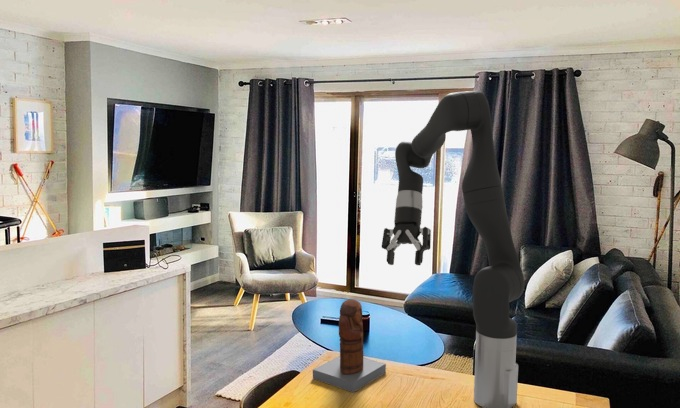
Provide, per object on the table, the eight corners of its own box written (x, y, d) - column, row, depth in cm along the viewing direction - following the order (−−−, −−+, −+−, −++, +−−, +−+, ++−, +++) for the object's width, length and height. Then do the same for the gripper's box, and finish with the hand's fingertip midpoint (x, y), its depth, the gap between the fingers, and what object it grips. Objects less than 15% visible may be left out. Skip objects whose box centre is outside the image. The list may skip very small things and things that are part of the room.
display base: (385, 372, 149) (385, 363, 148) (353, 392, 137) (353, 382, 137) (346, 360, 157) (346, 352, 156) (312, 378, 145) (312, 369, 144)
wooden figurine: (362, 376, 140) (362, 307, 138) (337, 375, 141) (337, 306, 139) (364, 358, 152) (365, 294, 150) (341, 357, 153) (342, 293, 151)
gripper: (380, 206, 160) (375, 262, 155) (425, 203, 151) (420, 262, 147) (393, 213, 165) (388, 267, 161) (437, 211, 157) (433, 267, 153)
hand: (403, 264), depth 154 cm, fingers open, 8 cm apart
